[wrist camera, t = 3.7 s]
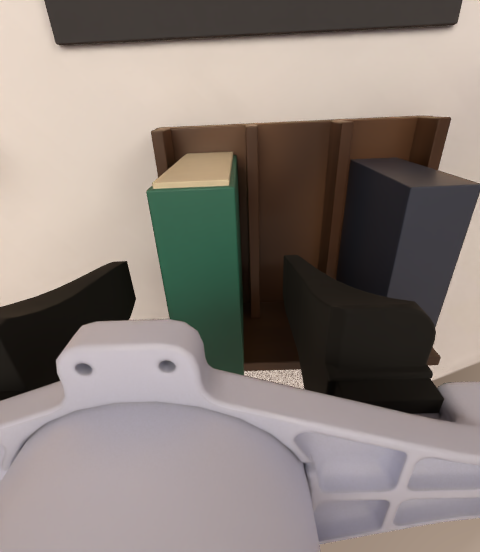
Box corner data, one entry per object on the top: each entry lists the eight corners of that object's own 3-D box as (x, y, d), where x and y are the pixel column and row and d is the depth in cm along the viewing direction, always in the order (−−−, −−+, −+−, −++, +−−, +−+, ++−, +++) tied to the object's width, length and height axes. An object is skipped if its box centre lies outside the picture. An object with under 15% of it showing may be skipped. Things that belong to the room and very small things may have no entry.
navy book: (396, 157, 17) (483, 184, 11) (373, 280, 21) (427, 351, 15) (350, 159, 17) (411, 187, 11) (335, 282, 21) (374, 353, 15)
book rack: (423, 115, 17) (527, 119, 11) (384, 295, 23) (438, 365, 17) (159, 127, 18) (114, 138, 11) (185, 302, 23) (165, 373, 17)
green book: (236, 150, 17) (234, 180, 10) (242, 291, 22) (244, 380, 15) (183, 153, 17) (144, 184, 10) (200, 293, 22) (181, 381, 15)
